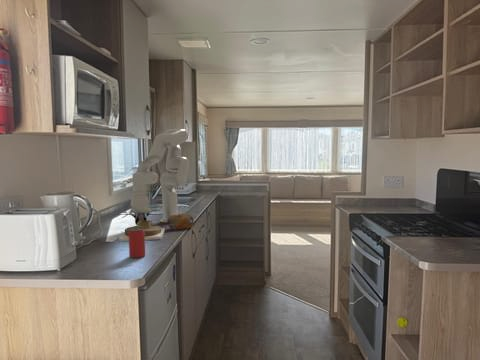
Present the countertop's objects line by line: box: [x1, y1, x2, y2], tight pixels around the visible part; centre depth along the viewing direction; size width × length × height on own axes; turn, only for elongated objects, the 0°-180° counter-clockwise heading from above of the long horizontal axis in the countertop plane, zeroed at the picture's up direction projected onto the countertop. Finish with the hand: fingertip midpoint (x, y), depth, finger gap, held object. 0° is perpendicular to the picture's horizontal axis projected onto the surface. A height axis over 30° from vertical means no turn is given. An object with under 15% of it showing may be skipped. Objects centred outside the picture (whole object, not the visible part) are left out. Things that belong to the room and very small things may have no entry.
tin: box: [167, 213, 194, 230], centre depth 209 cm, size 15×3×8 cm, turn 105°
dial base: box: [118, 227, 166, 242], centre depth 192 cm, size 21×21×2 cm
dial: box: [124, 220, 162, 236], centre depth 192 cm, size 19×19×4 cm
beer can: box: [128, 228, 146, 259], centre depth 153 cm, size 7×7×12 cm
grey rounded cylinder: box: [138, 213, 144, 221], centre depth 208 cm, size 4×4×10 cm
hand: (141, 224), depth 208 cm, fingers closed on grey rounded cylinder, 3 cm apart
